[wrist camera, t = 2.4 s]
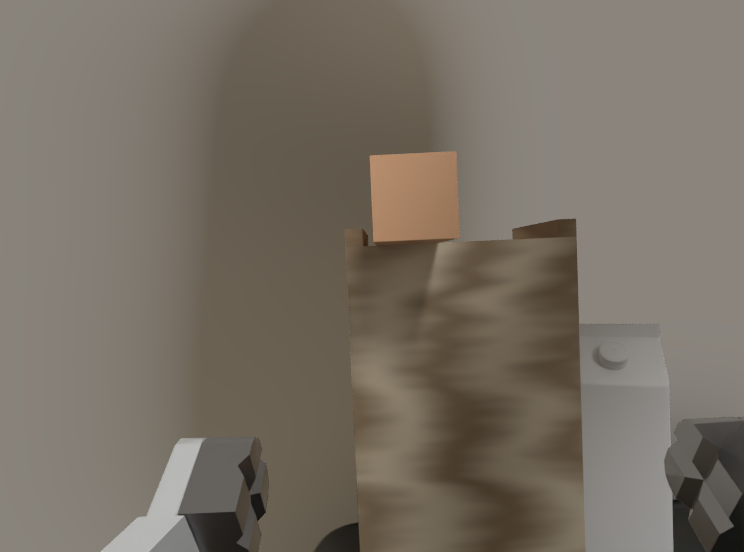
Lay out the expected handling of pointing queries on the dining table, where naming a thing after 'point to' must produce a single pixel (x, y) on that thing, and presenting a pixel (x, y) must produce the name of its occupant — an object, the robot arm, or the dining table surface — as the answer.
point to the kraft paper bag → (467, 393)
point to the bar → (414, 198)
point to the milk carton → (625, 438)
